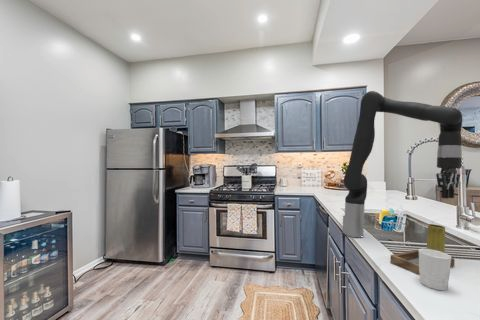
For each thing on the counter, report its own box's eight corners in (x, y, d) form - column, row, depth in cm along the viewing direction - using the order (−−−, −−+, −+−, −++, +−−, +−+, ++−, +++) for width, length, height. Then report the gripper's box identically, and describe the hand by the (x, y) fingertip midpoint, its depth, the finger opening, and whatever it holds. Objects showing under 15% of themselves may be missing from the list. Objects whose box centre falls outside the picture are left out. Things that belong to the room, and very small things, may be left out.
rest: (390, 262, 87) (390, 255, 87) (421, 255, 96) (422, 248, 96) (422, 276, 78) (422, 267, 78) (454, 266, 86) (454, 258, 87)
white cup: (411, 277, 76) (412, 247, 76) (435, 279, 76) (436, 249, 76) (430, 291, 68) (431, 257, 68) (457, 292, 68) (458, 259, 68)
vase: (449, 265, 87) (450, 228, 87) (431, 263, 88) (432, 227, 89) (438, 259, 93) (440, 224, 93) (421, 257, 94) (423, 223, 95)
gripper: (446, 157, 101) (445, 196, 101) (428, 156, 95) (427, 197, 95) (469, 157, 94) (468, 199, 94) (451, 155, 88) (450, 200, 88)
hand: (447, 197), depth 94 cm, fingers open, 3 cm apart
